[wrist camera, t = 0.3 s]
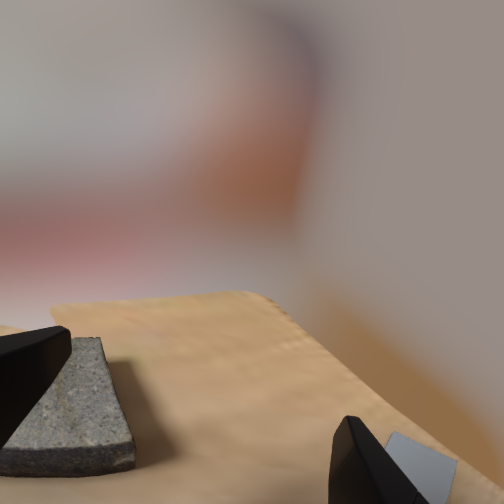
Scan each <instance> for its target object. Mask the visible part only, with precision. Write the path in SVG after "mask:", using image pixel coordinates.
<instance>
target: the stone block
mask: <svg viewBox="0 0 504 504" xmlns="http://www.w3.org/2000/svg"><path fill="white" fill-rule="evenodd" d="M71 342H72V354H71V356H70V358H69V359H68V361H67V362H66V364H65V365H64V367H63V368H62V370H61V371H60V373H59V374H58V376H57V377H56V379H55V380H54V382H53V383H52V385H51V386H50V388H49V389H48V390H47V392H46V393H45V394H44V395H43V396H42V398H41V399H40V400H39V401H38V403H37V404H36V405H35V406H34V408H33V409H32V410H31V411H30V413H29V414H28V415H27V417H26V418H25V419H24V420H23V422H22V423H21V424H20V426H19V427H18V428H17V430H16V431H15V432H14V433H13V435H12V436H11V437H10V439H9V440H8V441H7V443H6V444H5V446H4V447H3V448H2V450H1V451H0V475H1V476H15V477H20V476H24V477H75V478H79V477H89V476H100V475H106V474H112V473H118V472H123V471H126V470H130V469H132V468H135V453H136V446H135V442H134V439H133V436H132V434H131V431H130V427H129V425H128V423H127V420H126V417H125V414H124V412H123V411H122V409H121V406H120V403H119V400H118V397H117V394H116V391H115V388H114V385H113V381H112V378H111V374H110V371H109V369H108V364H107V361H106V358H105V354H104V351H103V347H102V342H101V338H100V337H96V338H93V337H88V338H73V339H72V338H71Z"/></svg>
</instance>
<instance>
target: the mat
mask: <svg viewBox="0 0 504 504" xmlns="http://www.w3.org/2000/svg"><path fill="white" fill-rule="evenodd" d="M384 449H385V450H386V452H387V453H388V454H389V455H390V456H391V458H392V459H393V460H394V461H395V463H396V464H397V465H398V466H399V467H400V469H401V470H402V471H403V472H404V474H405V475H406V476H407V477H408V478H409V480H410V481H411V482H412V483H413V484H414V486H415V487H416V488H417V489H418V491H419V492H420V493H421V494H422V495H423V496H424V498H425V499H426V500H427V501H428V502H429V503H430V504H446V502H447V499H448V495H449V492H450V489H451V485H452V481H453V477H454V474H455V469H456V465H457V461H456V460H454V459H452V458H450V457H447V456H445V455H443V454H441V453H439V452H436V451H434V450H432V449H430V448H428V447H426V446H424V445H422V444H420V443H418V442H416V441H414V440H412V439H410V438H408V437H406V436H404V435H402V434H400V433H398V432H396V431H394V432H393V433H392V434H391V436H390V438H389V440H388V442H387V444H386V446H385V448H384Z"/></svg>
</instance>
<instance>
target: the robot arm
mask: <svg viewBox="0 0 504 504" xmlns="http://www.w3.org/2000/svg"><path fill="white" fill-rule="evenodd" d="M71 354H72V342H71V333H70V331H69V330H68V329H67V328H65V327H63V326H54V327H48V328H43V329H38V330H33V331H27V332H22V333H16V334H11V335H5V336H0V451H1V450H2V448H3V447H4V446H5V444H6V443H7V441H8V440H9V439H10V437H11V436H12V435H13V433H14V432H15V431H16V430H17V428H18V427H19V426H20V424H21V423H22V422H23V420H24V419H25V418H26V417H27V415H28V414H29V413H30V411H31V410H32V409H33V408H34V406H35V405H36V404H37V403H38V401H39V400H40V399H41V398H42V396H43V395H44V394H45V393H46V392H47V390H48V389H49V388H50V386H51V385H52V383H53V382H54V380H55V379H56V377H57V376H58V374H59V373H60V371H61V370H62V368H63V367H64V365H65V364H66V362H67V361H68V359H69V358H70V356H71ZM328 504H430V503H429V502H428V501H427V500H426V499H425V498H424V496H423V495H422V494H421V493H420V492H419V491H418V489H417V488H416V487H415V486H414V484H413V483H412V482H411V481H410V480H409V478H408V477H407V476H406V475H405V474H404V472H403V471H402V470H401V469H400V467H399V466H398V465H397V464H396V463H395V461H394V460H393V459H392V458H391V456H390V455H389V454H388V453H387V452H386V450H385V449H384V448H383V447H382V445H381V444H380V443H379V442H378V440H377V439H376V438H375V437H374V435H373V434H372V433H371V432H370V430H369V429H368V428H367V427H366V426H365V424H364V423H363V422H362V421H361V419H360V418H359V417H356V416H345V417H344V418H343V420H342V422H341V423H340V425H339V427H338V428H337V430H336V432H335V434H334V437H333V444H332V454H331V463H330V471H329V483H328Z"/></svg>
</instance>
